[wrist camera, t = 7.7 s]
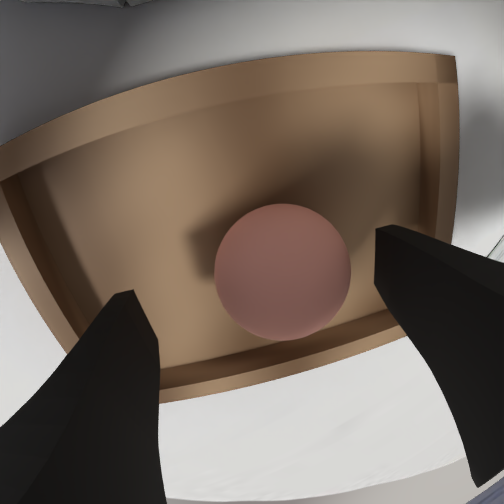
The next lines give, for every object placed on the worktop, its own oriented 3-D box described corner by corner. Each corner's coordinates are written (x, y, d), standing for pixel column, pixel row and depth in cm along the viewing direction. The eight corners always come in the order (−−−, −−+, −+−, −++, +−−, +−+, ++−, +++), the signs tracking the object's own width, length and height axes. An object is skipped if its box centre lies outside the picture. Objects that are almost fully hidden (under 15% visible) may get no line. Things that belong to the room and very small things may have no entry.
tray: (116, 375, 15) (111, 409, 13) (1, 148, 9) (-31, 164, 7) (412, 298, 16) (434, 324, 14) (417, 54, 9) (455, 56, 8)
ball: (211, 317, 11) (274, 391, 8) (177, 217, 9) (245, 276, 6) (300, 269, 13) (375, 320, 10) (287, 174, 11) (380, 205, 8)
